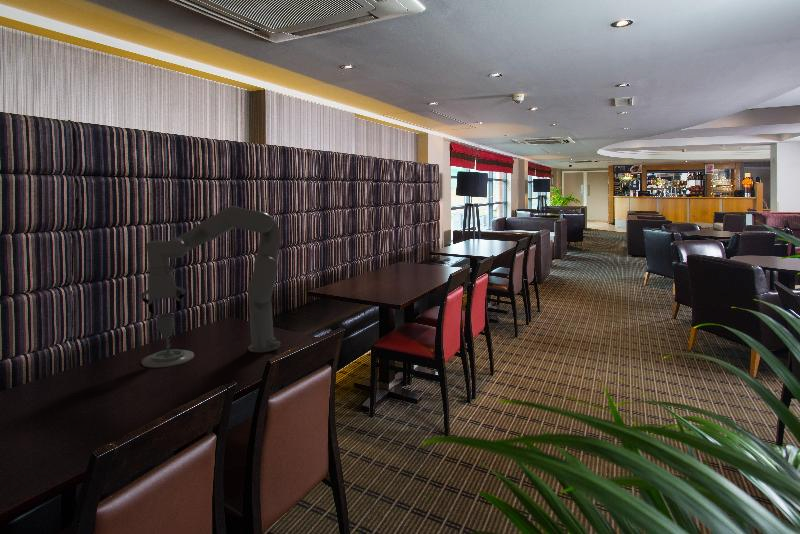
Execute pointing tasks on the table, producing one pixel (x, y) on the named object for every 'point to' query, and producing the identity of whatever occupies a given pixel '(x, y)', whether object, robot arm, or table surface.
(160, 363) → the plate
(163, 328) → the chalice
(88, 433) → the table surface
